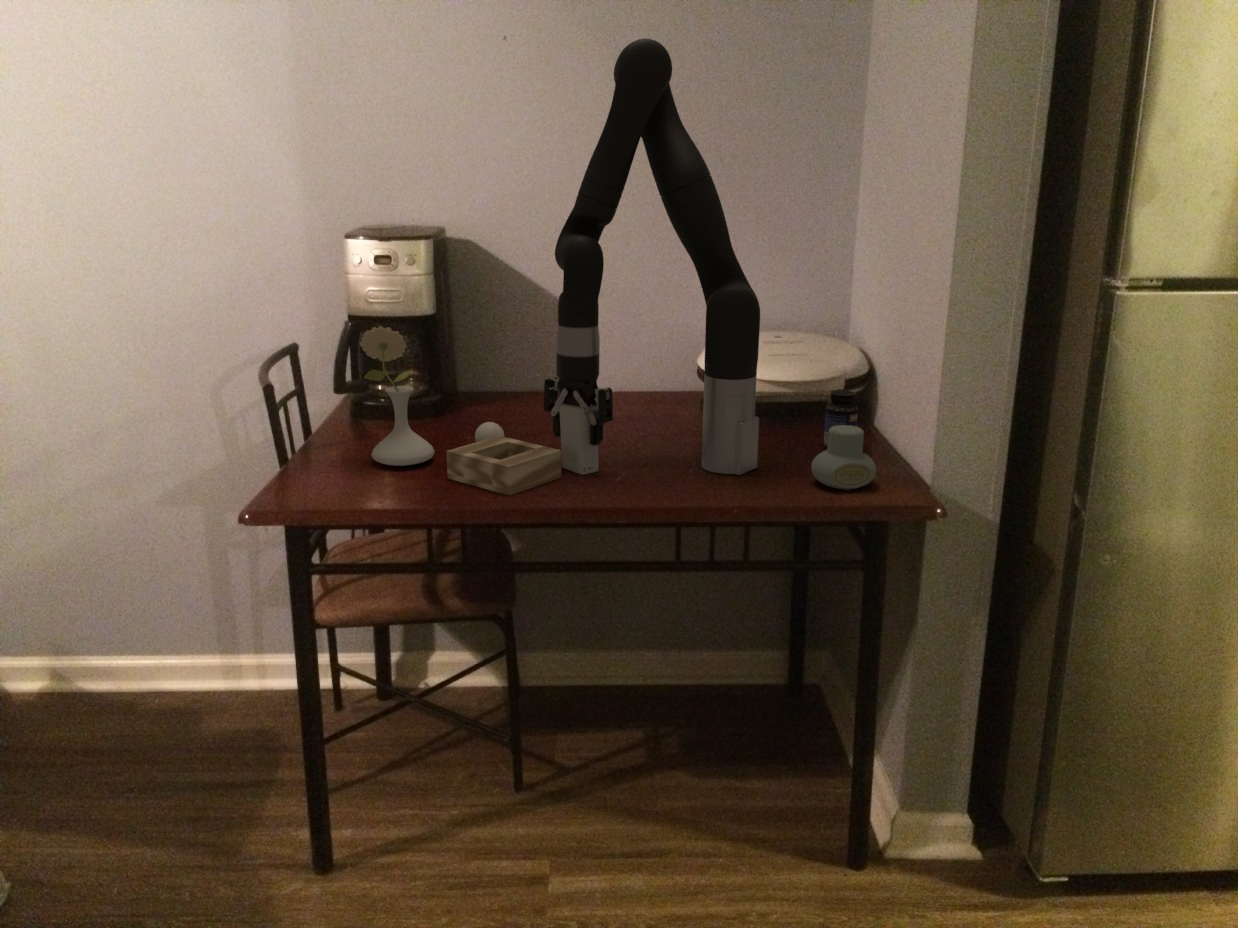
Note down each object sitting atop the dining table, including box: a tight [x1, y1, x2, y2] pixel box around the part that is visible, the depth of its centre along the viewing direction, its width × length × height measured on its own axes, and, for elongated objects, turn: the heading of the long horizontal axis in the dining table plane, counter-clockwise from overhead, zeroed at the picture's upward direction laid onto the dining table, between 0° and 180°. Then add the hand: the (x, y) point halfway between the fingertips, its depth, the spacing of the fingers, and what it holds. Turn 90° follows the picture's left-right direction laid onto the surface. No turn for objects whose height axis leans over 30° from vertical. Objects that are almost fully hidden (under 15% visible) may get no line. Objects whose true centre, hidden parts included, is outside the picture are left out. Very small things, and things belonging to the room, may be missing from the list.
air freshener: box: [810, 425, 877, 491], centre depth 175 cm, size 11×8×10 cm
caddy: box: [446, 436, 562, 496], centre depth 178 cm, size 15×13×5 cm
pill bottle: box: [823, 389, 859, 449], centre depth 197 cm, size 6×6×11 cm
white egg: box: [466, 421, 505, 443], centre depth 195 cm, size 8×6×6 cm
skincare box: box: [559, 403, 600, 475], centre depth 182 cm, size 6×4×12 cm
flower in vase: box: [359, 326, 436, 467], centre depth 184 cm, size 13×11×25 cm
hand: (577, 440), depth 183 cm, fingers open, 8 cm apart
